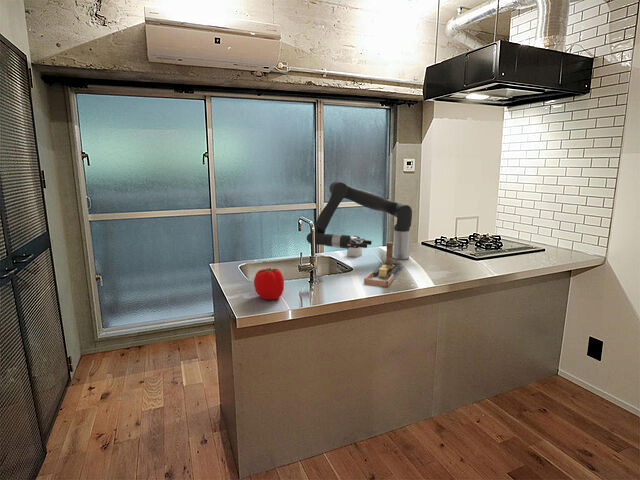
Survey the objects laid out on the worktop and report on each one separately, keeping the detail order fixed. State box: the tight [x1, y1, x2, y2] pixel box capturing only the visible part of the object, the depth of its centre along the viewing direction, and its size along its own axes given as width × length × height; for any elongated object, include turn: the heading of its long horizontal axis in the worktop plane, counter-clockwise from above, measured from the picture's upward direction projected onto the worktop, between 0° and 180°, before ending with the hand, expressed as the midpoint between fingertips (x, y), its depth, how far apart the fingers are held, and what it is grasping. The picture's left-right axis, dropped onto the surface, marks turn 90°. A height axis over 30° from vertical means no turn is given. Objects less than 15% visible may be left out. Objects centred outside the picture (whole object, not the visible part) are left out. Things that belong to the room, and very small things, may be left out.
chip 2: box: [382, 265, 391, 275], centre depth 202 cm, size 4×4×4 cm
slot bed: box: [372, 261, 404, 280], centre depth 206 cm, size 22×13×3 cm, turn 157°
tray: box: [363, 271, 395, 288], centre depth 190 cm, size 13×12×3 cm
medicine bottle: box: [346, 235, 363, 258], centre depth 243 cm, size 7×7×12 cm
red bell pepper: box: [253, 267, 285, 301], centre depth 170 cm, size 16×14×14 cm
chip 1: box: [378, 267, 389, 279], centre depth 198 cm, size 4×4×4 cm
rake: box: [385, 241, 395, 272], centre depth 208 cm, size 7×5×15 cm
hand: (369, 244), depth 211 cm, fingers open, 8 cm apart
